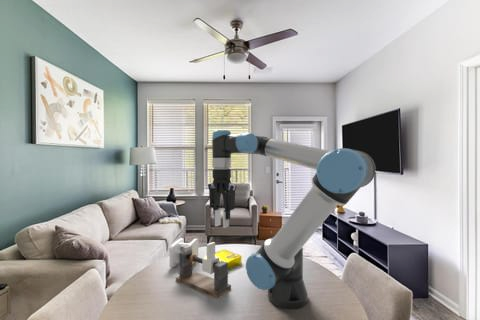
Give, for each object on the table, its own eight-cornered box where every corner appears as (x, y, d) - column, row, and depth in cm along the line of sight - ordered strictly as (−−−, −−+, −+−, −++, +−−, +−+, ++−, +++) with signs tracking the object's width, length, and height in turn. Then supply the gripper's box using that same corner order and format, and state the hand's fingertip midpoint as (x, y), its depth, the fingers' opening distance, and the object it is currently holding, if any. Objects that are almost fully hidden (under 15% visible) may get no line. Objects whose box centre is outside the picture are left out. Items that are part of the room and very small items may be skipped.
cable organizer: (188, 271, 118) (188, 246, 118) (168, 269, 119) (168, 245, 119) (198, 258, 132) (198, 237, 133) (180, 257, 134) (180, 236, 134)
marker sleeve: (219, 269, 102) (219, 242, 102) (211, 274, 98) (211, 246, 98) (210, 266, 105) (210, 240, 105) (202, 271, 101) (202, 243, 101)
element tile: (223, 256, 137) (223, 247, 137) (243, 264, 126) (243, 254, 126) (202, 264, 126) (202, 255, 126) (221, 273, 115) (221, 263, 115)
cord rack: (230, 288, 101) (230, 253, 101) (216, 298, 94) (216, 260, 94) (190, 273, 115) (190, 242, 115) (175, 280, 108) (175, 247, 108)
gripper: (243, 168, 96) (244, 227, 96) (212, 168, 106) (212, 221, 106) (232, 169, 90) (232, 232, 90) (200, 168, 100) (200, 225, 100)
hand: (221, 226), depth 98 cm, fingers open, 4 cm apart
